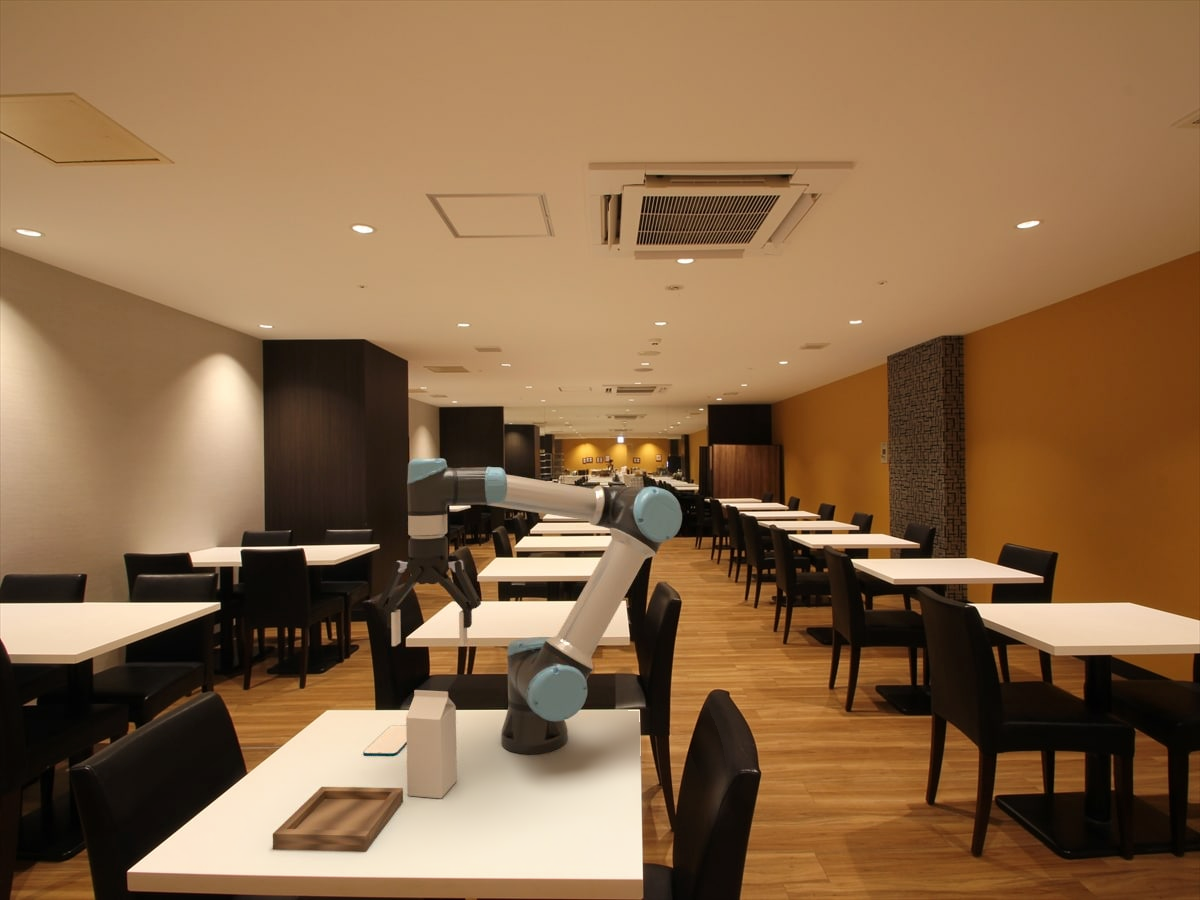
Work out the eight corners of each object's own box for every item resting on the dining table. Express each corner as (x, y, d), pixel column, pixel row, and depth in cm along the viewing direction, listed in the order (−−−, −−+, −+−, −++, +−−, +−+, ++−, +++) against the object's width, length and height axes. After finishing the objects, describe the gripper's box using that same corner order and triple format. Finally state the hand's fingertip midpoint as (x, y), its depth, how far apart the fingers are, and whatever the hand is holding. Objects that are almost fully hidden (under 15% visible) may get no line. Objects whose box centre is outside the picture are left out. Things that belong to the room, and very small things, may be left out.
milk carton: (441, 799, 123) (439, 698, 124) (407, 796, 125) (405, 696, 125) (457, 781, 130) (455, 685, 131) (424, 779, 132) (422, 684, 132)
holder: (403, 801, 123) (402, 788, 123) (365, 851, 107) (365, 835, 107) (321, 799, 124) (321, 786, 124) (272, 849, 108) (272, 833, 108)
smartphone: (390, 729, 159) (361, 757, 143) (390, 725, 159) (361, 753, 143) (422, 729, 159) (396, 757, 143) (422, 725, 159) (396, 753, 143)
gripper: (494, 533, 132) (496, 639, 131) (375, 535, 134) (376, 639, 133) (485, 537, 124) (486, 649, 124) (358, 539, 126) (360, 649, 126)
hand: (429, 644), depth 128 cm, fingers open, 13 cm apart
